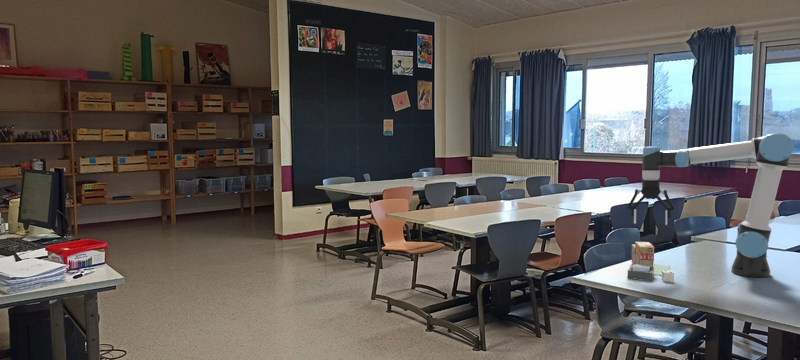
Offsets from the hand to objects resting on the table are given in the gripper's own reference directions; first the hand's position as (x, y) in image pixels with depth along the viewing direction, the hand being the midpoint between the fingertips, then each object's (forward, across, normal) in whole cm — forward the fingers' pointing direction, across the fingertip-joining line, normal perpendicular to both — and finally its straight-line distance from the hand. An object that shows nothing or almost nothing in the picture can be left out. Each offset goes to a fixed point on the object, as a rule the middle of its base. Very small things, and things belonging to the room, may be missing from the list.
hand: (650, 224), depth 268 cm
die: (+22, -8, +21) cm, 31 cm away
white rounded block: (+21, +3, +20) cm, 29 cm away
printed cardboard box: (+21, +4, +2) cm, 21 cm away
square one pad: (+21, -4, +2) cm, 22 cm away
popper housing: (+21, +3, +20) cm, 29 cm away
